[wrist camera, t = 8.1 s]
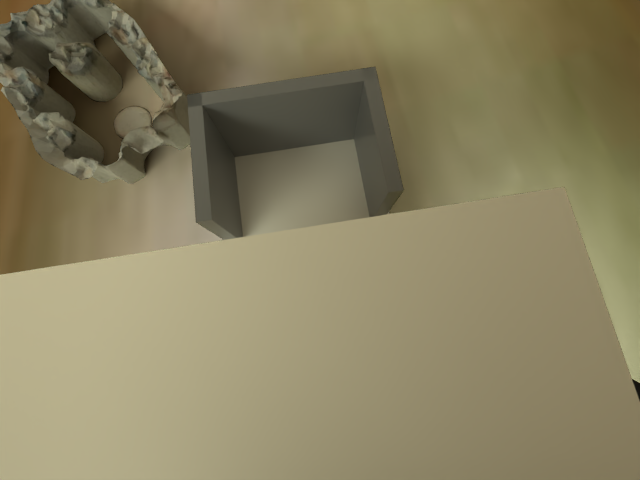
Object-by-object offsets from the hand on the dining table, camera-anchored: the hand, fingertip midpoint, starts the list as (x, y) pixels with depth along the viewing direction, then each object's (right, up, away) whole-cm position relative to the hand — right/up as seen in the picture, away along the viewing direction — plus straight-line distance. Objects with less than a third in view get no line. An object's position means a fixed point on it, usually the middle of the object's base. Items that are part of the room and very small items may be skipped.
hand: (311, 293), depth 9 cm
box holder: (0, -1, +7) cm, 7 cm away
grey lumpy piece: (-12, +10, +10) cm, 18 cm away
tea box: (0, -3, +6) cm, 7 cm away
